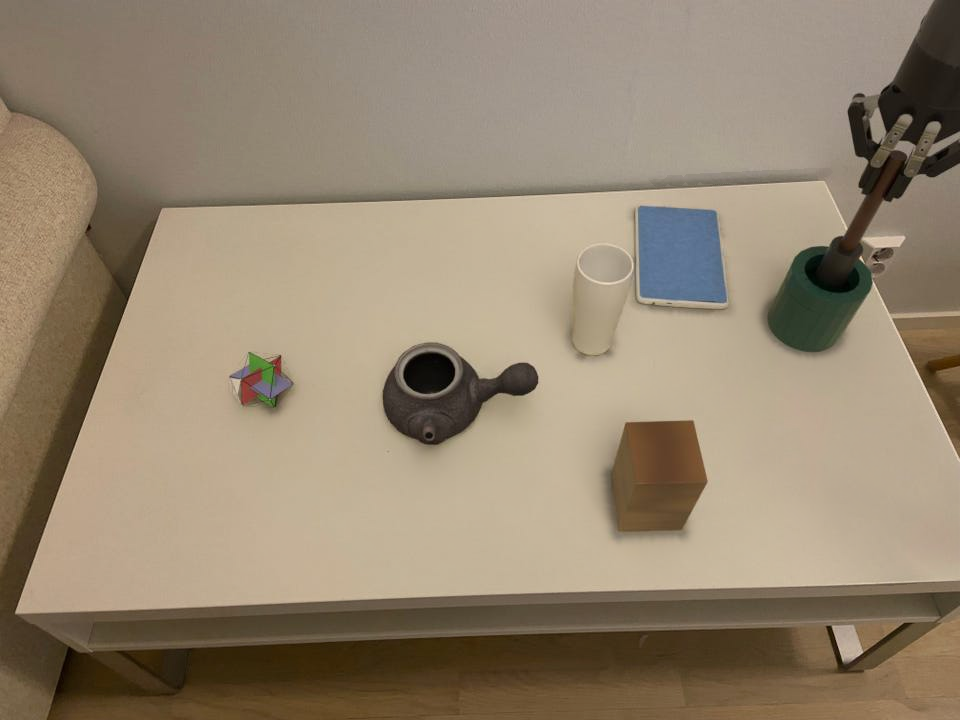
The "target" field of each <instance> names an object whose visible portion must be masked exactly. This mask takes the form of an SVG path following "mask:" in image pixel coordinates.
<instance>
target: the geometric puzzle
mask: <svg viewBox="0 0 960 720" xmlns="http://www.w3.org/2000/svg"><path fill="white" fill-rule="evenodd" d="M257 353H259V352H257V351H255V354H254V352H252V351H250V350H248V352H247V357H246V359H245V364H244V367H242V368H241V369H239V370H237V371H236V372H234V371H232V373H231V374H230V375H228V378H229V382H228V387H229V391H230V394H231V395H232V397H234V399H235V400H236V402H238V403H239V405H240V406H241V407H245V405H246V406H249V405H250V401H252V400H254V399H255V398H256V399H258V400H260V403H262V402H263V403H265V404H267V405H268V406H270V407H268V406H267V408H269V409H270V408H273V409H276V407H277V405H278V404H277V400H278V396H279V395H280V394H281V393H283V392H284V391H287V392H289V391H290V389H291V387H293V386H294V385H295V382H294V380H293V379H291V378H289V377H288V376H286V375H285V373H283V372H282V361H283V363H284V364H286V362H285V360H284V359H282V357H283V354H278V355H277V354H273V355H274V356H271V357H267V358H262V357H260V356H258V355H256V354H257ZM265 354H266V355H268V353H267V352H264V355H265ZM244 358H245V357H243V359H242V360H244ZM272 358H273V359H272ZM268 359H272V360H271V361H267V360H268ZM247 360H248V364H247ZM240 364H241V362H239V364H238V365H240ZM286 369H287V371H288V373H290V372H289V369H288V368H286ZM233 372H234V373H233ZM282 375H283V376H285V377H286V378H287V379H286V378H284V377H283V376H282ZM240 387H241V388H240ZM287 389H288V390H287ZM239 392H240V395H241V399H240V397H239ZM285 396H286V394H284V396H283V397H285ZM275 397H276V398H275ZM281 400H282V399H280V400H279V402H278V403H280V402H281ZM247 403H248V404H247ZM257 403H259V401H257V402H253V403H251V407H254V408H255V407H256V406H253V404H257Z"/></svg>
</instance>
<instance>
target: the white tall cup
mask: <svg viewBox="0 0 960 720" xmlns="http://www.w3.org/2000/svg"><path fill="white" fill-rule="evenodd" d="M634 270H635V264H634V260H633V258H632V256H631V255H630V253H629V252H628V251H626V250H625V249H624V248H623V247H620V246H618V245H615V244H611V243H605V242H603V243H602V242H601V243H594V244H591V245H588V246H587V247H585V248H583V249H582V250H581V251H580V252H579V254H578V255H577V259H576V263H575V268H574V274H573V283H572V332H571V342H572V344H573V346H574V348H575V350H577V351H578V352H580V353H582V354H583V355H586V356H599V355H602V354H604V353H606V352H608V350H609V349H610V348H611V346H612V344H613V340H614V336H615V333H616V329H617V328H618V327H617V326H618V324H619V322H620V319H621V316H622V314H623V309H624V308H625V306H626V302H627V299H628V296H629V293H630V290H631V286H632V282H633V281H632V280H633V277H634Z"/></svg>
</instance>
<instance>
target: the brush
mask: <svg viewBox="0 0 960 720" xmlns="http://www.w3.org/2000/svg"><path fill="white" fill-rule="evenodd" d="M907 159H908V155H907V153H906V152H904V151H902V150H899V149H893V151H892V152H891V153H890V154H889V156H888V157H887V159H886V160H885V162H884V163H883V168H882V171H881V172H880V174H879V176H878V178H877V180H876V181H875V183H874V185H873V187H872V189H871V191H870V192H869V194H868V196H867V195H865V196H864V198H863V200H862V201H861V204H860V206H859V207H858V209H857V211H856V213H855V215H854V216H853V218H852V220H851V221H850V224H849V226H848V227H847V229H846V231H845V232H844V235H838V236H836V237H834V238H833V239H832V240H831V241H830V243H829V246H828V249H827V251H826V253H825V255H824V257H823V258H822V260H821V262H820V264H819V266H818V268H817V270H816V275H817V277H818V279H819V280H820V281H822V282H823V283H825V284H827V285H831V286H839V285H842V284H844V283H845V282H846V280H847V278H848V277H849V275H850V273H851V272H852V270H853V268H854V266H855V265H856V263H857V261H858V260H859V259H860V258H861V256H862V255H863V253H864V246H863V244H862V243H861V240H862V238H863V237H864V235H865V233H866V231H867V230H868V227H869V226H870V225H871V222H872V221H873V219H874V217H875V216H876V214H877V213H878V210H879V209H880V207H881V205H882V203H883V202H884V198H885V196H886V194H887V193H888V191H889V189H890V187H891V186H892V184H893V182H894V180H895V179H896V177H897V175H898V173H899V172H900V170H901V169H902V167H903V165H904V164H905V162H906V161H907Z"/></svg>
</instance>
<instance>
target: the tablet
mask: <svg viewBox="0 0 960 720" xmlns="http://www.w3.org/2000/svg"><path fill="white" fill-rule="evenodd" d="M634 220H635V221H634V229H635V230H634V233H635V235H634V236H635V238H634V239H635V289H636V290H635V297H636V301H637V302H639V303H640V304H642V305H643V304H644V305H654V306H661V307H674V308H675V307H676V308H688V309H704V310H725V309H727V308H728V307H729V304H730V298H729V290H728V282H727V273H726V266H725V265H726V264H725V256H724V248H723V238H722V231H721V230H722V229H721V223H720V216H719V212H718V211H717V210H715V209H711V208H710V209H709V208H694V207H693V208H692V207H677V206H676V207H675V206H660V205H659V206H658V205H642V204H641V205H637V206H636V208H635V209H634Z"/></svg>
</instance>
